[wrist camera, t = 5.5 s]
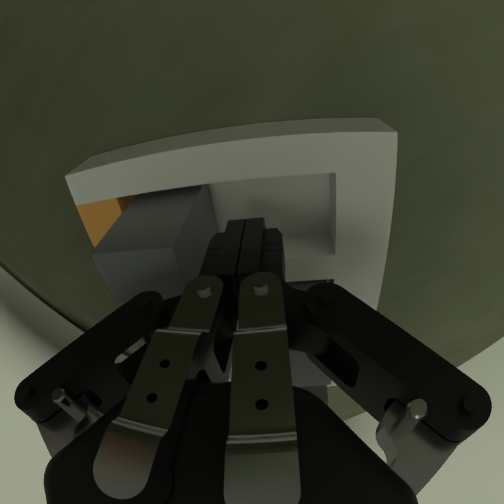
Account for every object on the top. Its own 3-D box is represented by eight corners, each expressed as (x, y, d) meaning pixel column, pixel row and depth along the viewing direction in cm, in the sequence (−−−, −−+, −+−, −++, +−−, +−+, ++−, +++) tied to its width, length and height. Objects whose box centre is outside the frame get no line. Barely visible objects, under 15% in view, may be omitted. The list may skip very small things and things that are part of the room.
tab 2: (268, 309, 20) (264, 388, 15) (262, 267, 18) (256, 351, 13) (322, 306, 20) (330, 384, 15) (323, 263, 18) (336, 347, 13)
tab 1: (161, 242, 17) (124, 317, 13) (143, 187, 15) (90, 254, 11) (220, 237, 17) (198, 318, 12) (206, 177, 15) (172, 247, 10)
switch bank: (181, 359, 27) (174, 386, 25) (92, 155, 15) (64, 176, 13) (353, 355, 25) (357, 383, 22) (376, 117, 13) (397, 132, 11)
